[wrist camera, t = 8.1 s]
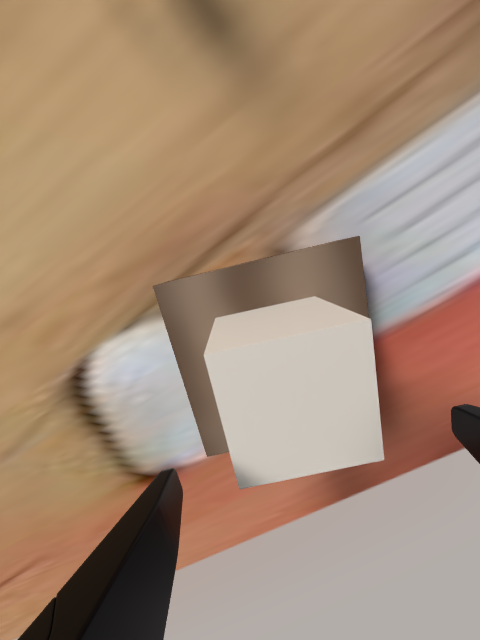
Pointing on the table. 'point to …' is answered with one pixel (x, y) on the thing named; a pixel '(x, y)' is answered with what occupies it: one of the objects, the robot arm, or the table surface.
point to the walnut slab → (248, 294)
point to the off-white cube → (295, 390)
